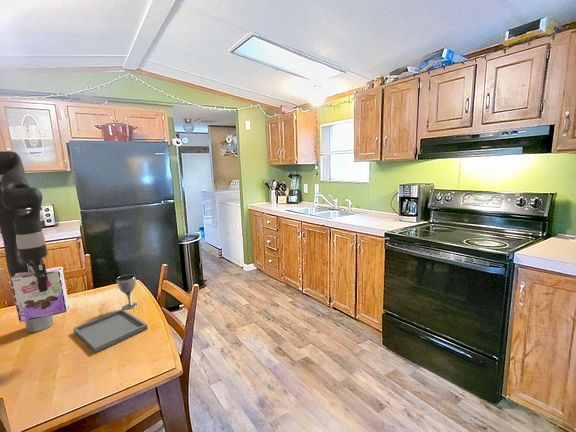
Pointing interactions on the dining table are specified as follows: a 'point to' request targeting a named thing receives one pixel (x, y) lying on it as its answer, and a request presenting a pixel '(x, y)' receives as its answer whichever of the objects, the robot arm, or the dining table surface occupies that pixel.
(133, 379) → the dining table surface
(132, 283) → the wine glass
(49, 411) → the dining table surface
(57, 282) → the candy box
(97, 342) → the tray
